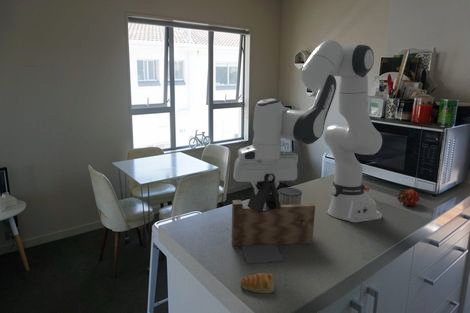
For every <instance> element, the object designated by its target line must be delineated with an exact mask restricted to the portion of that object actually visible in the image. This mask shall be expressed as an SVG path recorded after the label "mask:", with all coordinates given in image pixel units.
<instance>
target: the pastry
mask: <svg viewBox="0 0 470 313" xmlns="http://www.w3.org/2000/svg"><path fill="white" fill-rule="evenodd" d="M240 286H241V288H242V290H243V289H244V290H245V291H250V292H252V293H260V294H262V293H263V294H271V293H273V292H274V291H275V284H274V276H273V274H272V273H271V272H269V273H265V272H264V273H262V272H257V273H255V274H252V275H251V274H250V275H246V276H244V277H242V279H241V281H240Z"/></svg>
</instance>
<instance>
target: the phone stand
mask: <svg viewBox="0 0 470 313" xmlns="http://www.w3.org/2000/svg"><path fill="white" fill-rule="evenodd" d="M271 175H273V180H272V181H268V177H269V176H270V174H268V173H267V174H266V175H265V176H264V181H257V185H255V186H256V187H257V189H259V191H258V193H257V194H256V195H255V188H254V187H253V188H252V192H251V194H250V197H249V200H248V204H247V206H248V207H249V208H251V209H252V210H254V211H256V212H258V213H262V212H266V211H269V210H270V211H271V210H275V209H280V208H281V205H280V202H279V198H278V194H277V191H278V190H277V188H276V187H275V176H274V174H271ZM270 193H271V194H270Z"/></svg>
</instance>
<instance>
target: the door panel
mask: <svg viewBox="0 0 470 313" xmlns="http://www.w3.org/2000/svg"><path fill="white" fill-rule="evenodd" d="M231 202H232V203H231V204H232V206H231V210H232V211H231V212H232V213H231V245H232V248H233V249H242V246H250V245H268V244H275V245H288V244H289V245H290V244H292V245H293V244H307V243H309V244H310V243H313V240H314V228H315V215H316V214H315V212H316V205H315V204H314V203H300V204H294V205H281V208H280V209H275V210H271V211H270V210H269V211H266V212H262V213H258V212H256V211H254V210H252V209H251V208H249V207H248V205H247V206H246V205H245V206H244V203H243V201H242V199H235V200H234V199H233V200H232V201H231Z"/></svg>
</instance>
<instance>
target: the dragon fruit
mask: <svg viewBox="0 0 470 313" xmlns="http://www.w3.org/2000/svg"><path fill="white" fill-rule="evenodd" d="M397 200H398V202H399V203H402V202H403V203H404V204H405V205H408V206H410V205H414V206H413V207H415V206H416V204H417V202H419V201H420V197H419V194H418V192H417V191H415V190H414V189H413V188H412V189H408V188H407V189H405V190H400V191H399V194H398V197H397ZM403 203H402V204H403ZM405 205H404V206H405Z"/></svg>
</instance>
